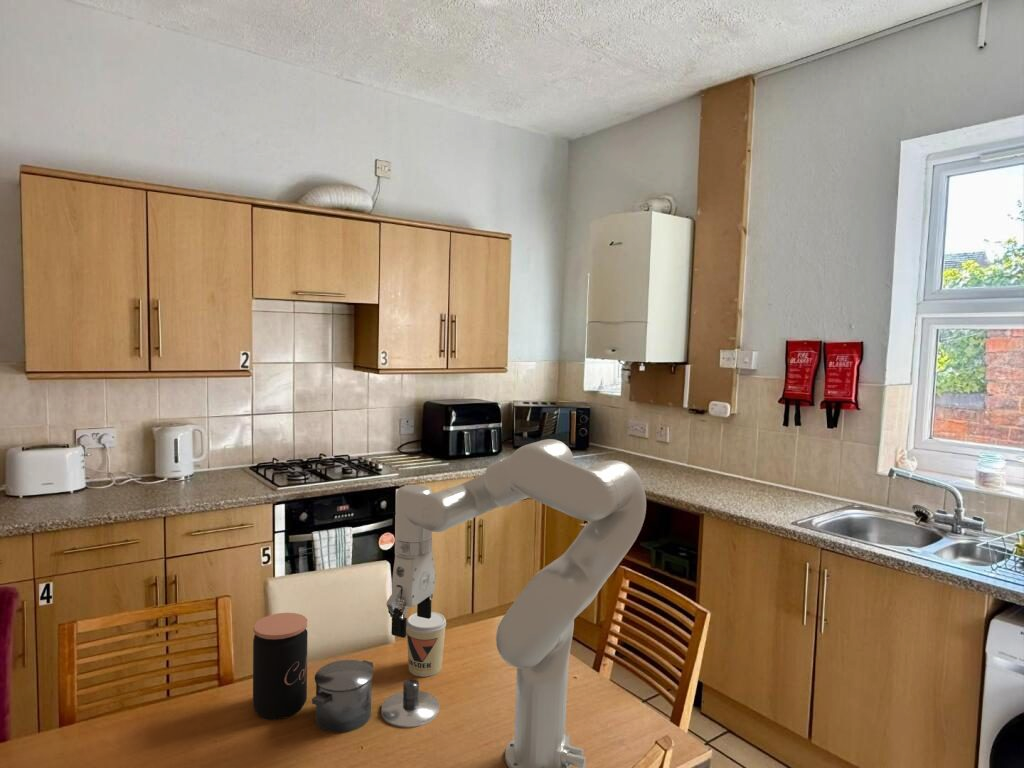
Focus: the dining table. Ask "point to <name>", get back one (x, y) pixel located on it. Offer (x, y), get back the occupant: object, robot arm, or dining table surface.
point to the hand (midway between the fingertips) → (411, 626)
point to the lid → (410, 706)
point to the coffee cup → (425, 644)
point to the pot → (343, 695)
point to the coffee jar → (280, 665)
